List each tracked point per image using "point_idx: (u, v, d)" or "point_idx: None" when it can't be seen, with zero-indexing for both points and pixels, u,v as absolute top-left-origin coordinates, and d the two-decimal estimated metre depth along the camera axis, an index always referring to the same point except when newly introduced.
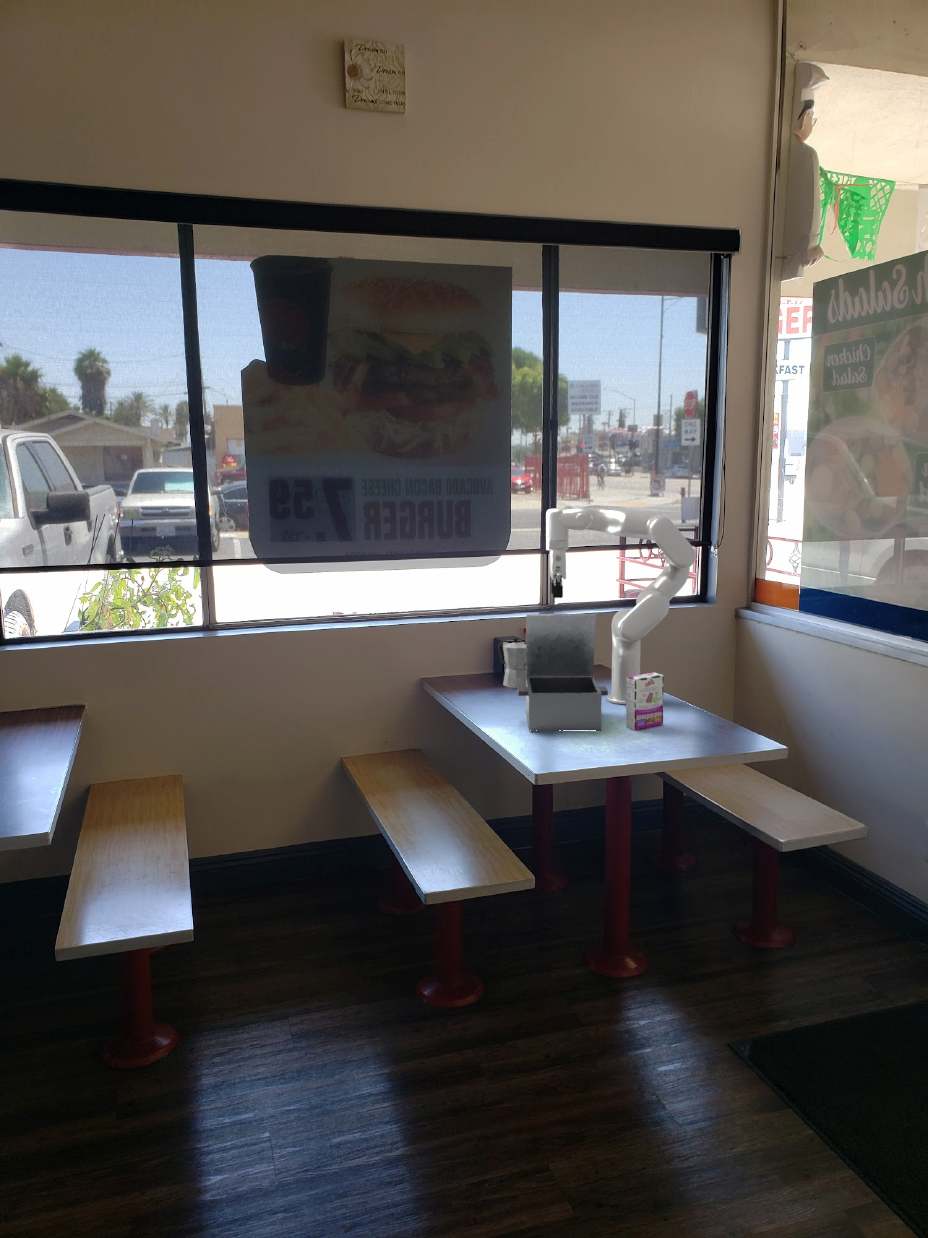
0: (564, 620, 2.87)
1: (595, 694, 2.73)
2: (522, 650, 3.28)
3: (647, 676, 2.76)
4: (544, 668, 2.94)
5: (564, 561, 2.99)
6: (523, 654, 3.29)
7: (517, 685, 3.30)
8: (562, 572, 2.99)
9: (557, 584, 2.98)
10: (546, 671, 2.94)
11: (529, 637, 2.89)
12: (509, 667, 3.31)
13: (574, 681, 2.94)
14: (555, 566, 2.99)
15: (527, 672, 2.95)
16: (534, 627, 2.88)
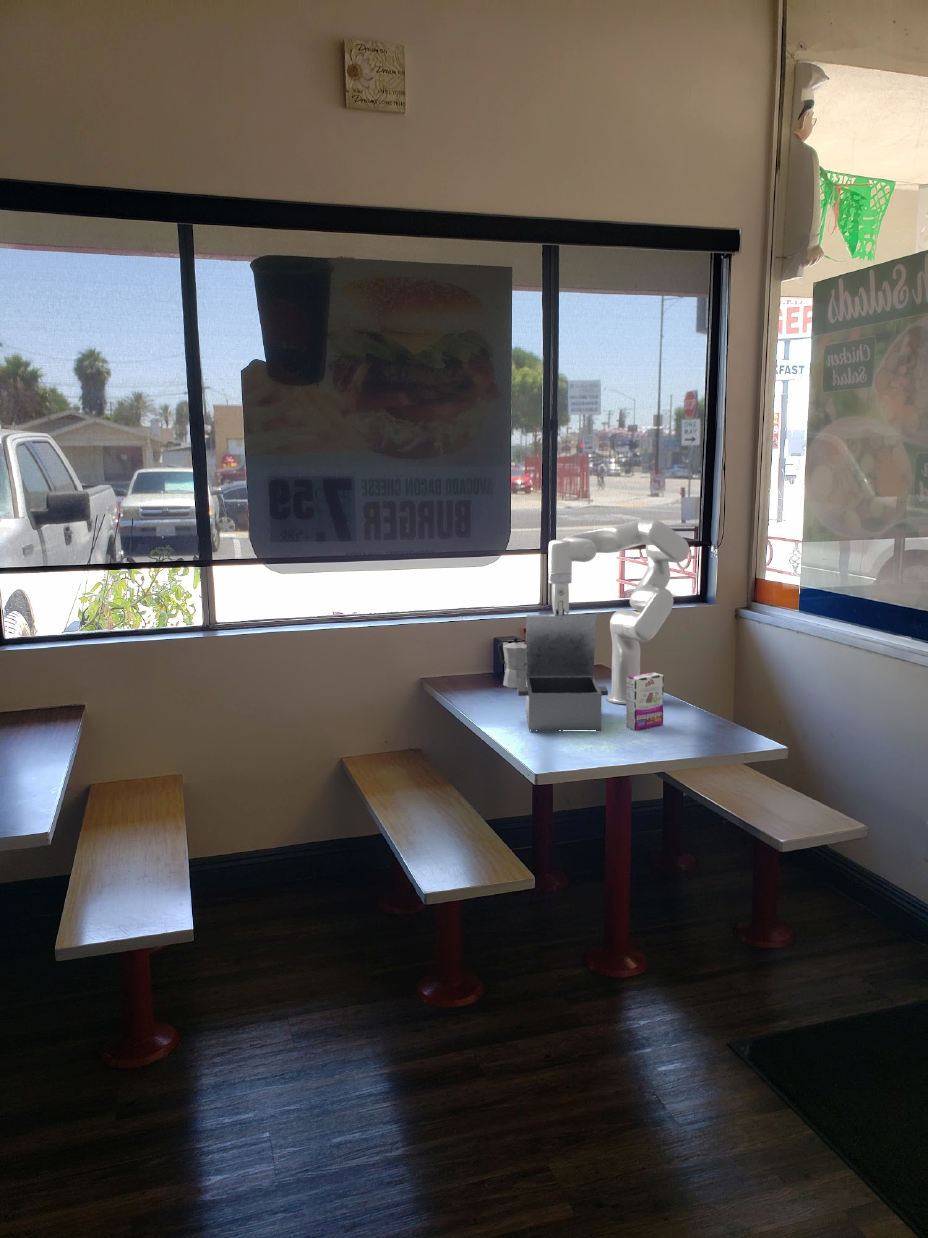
0: (564, 621, 2.86)
1: (595, 694, 2.73)
2: (522, 650, 3.28)
3: (647, 676, 2.76)
4: (544, 668, 2.94)
5: (567, 595, 2.87)
6: (523, 654, 3.29)
7: (517, 685, 3.30)
8: (565, 607, 2.87)
9: None
10: (546, 671, 2.94)
11: (529, 637, 2.89)
12: (509, 667, 3.31)
13: (574, 681, 2.94)
14: (558, 600, 2.87)
15: (527, 672, 2.95)
16: (535, 627, 2.87)
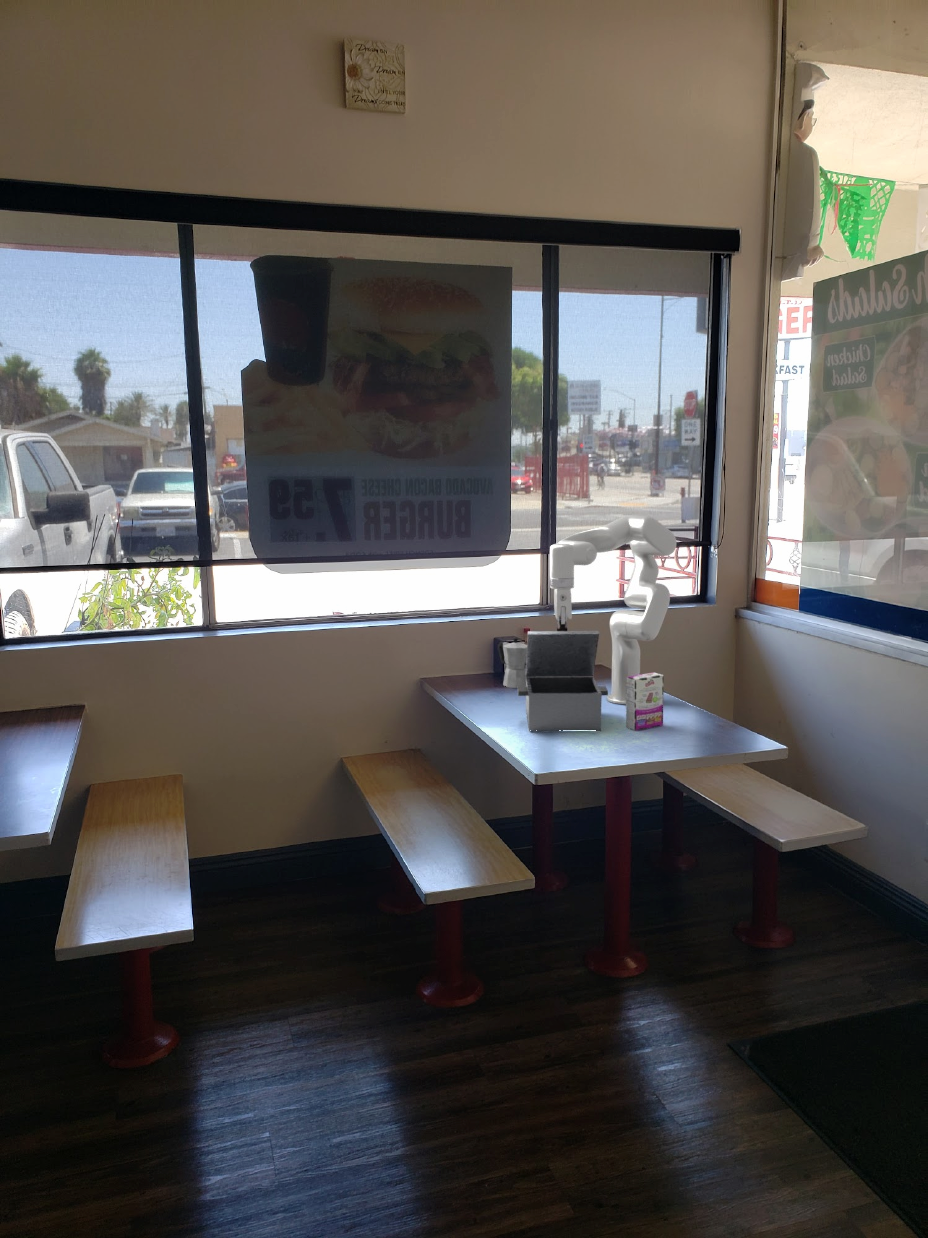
0: (566, 637, 2.80)
1: (595, 694, 2.73)
2: (522, 650, 3.28)
3: (647, 676, 2.76)
4: (544, 671, 2.93)
5: (570, 601, 2.79)
6: (523, 654, 3.29)
7: (517, 685, 3.30)
8: (567, 612, 2.79)
9: (561, 627, 2.83)
10: (546, 673, 2.94)
11: (530, 649, 2.84)
12: (509, 667, 3.31)
13: (574, 681, 2.94)
14: (560, 606, 2.79)
15: (527, 673, 2.94)
16: (536, 642, 2.82)
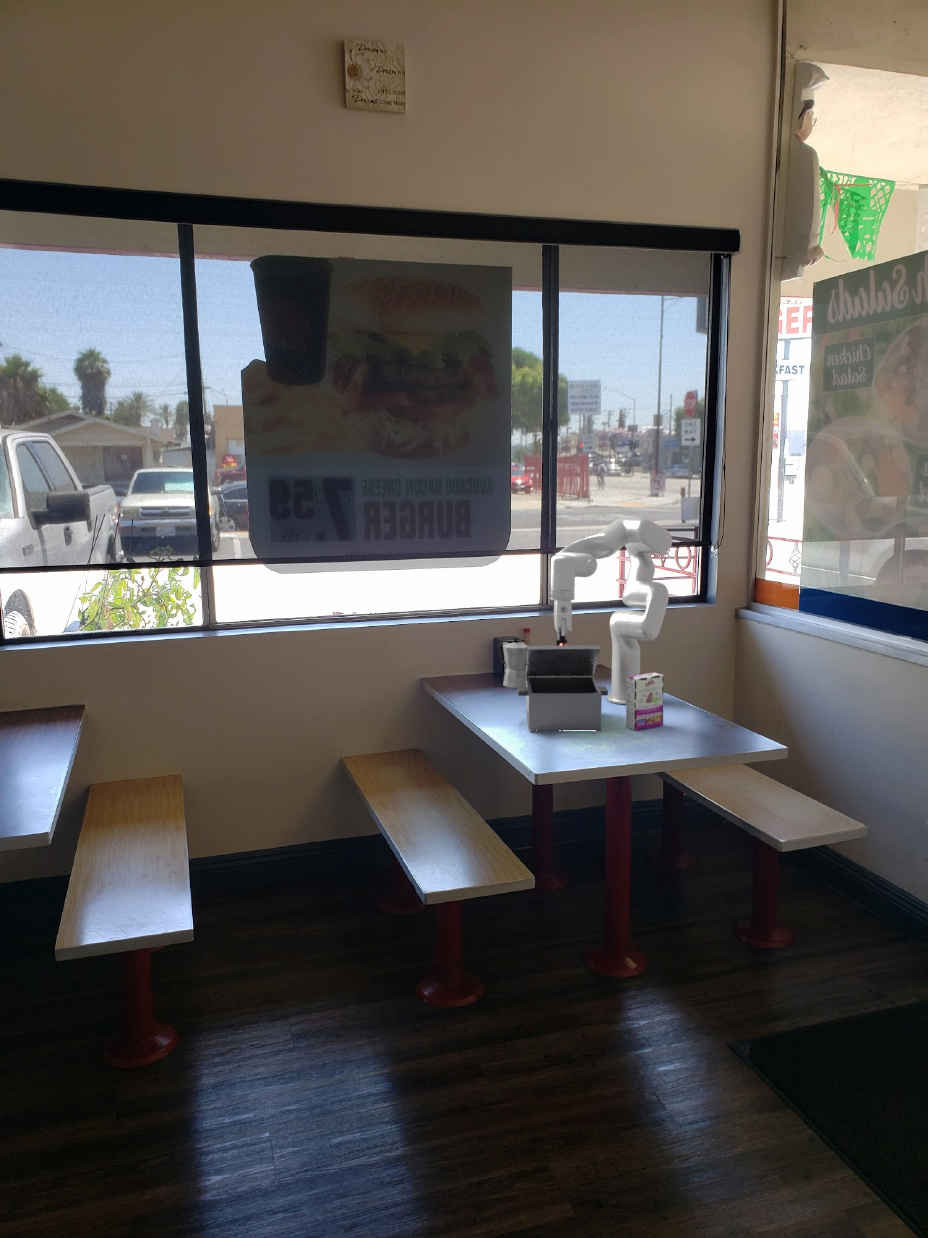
0: (567, 651, 2.77)
1: (595, 694, 2.73)
2: (522, 650, 3.28)
3: (647, 676, 2.76)
4: (544, 673, 2.93)
5: (570, 612, 2.77)
6: (523, 654, 3.29)
7: (517, 685, 3.30)
8: (568, 624, 2.77)
9: (561, 639, 2.81)
10: (546, 674, 2.94)
11: (530, 659, 2.83)
12: (509, 667, 3.31)
13: (574, 681, 2.94)
14: (560, 618, 2.77)
15: (527, 674, 2.94)
16: (536, 654, 2.79)
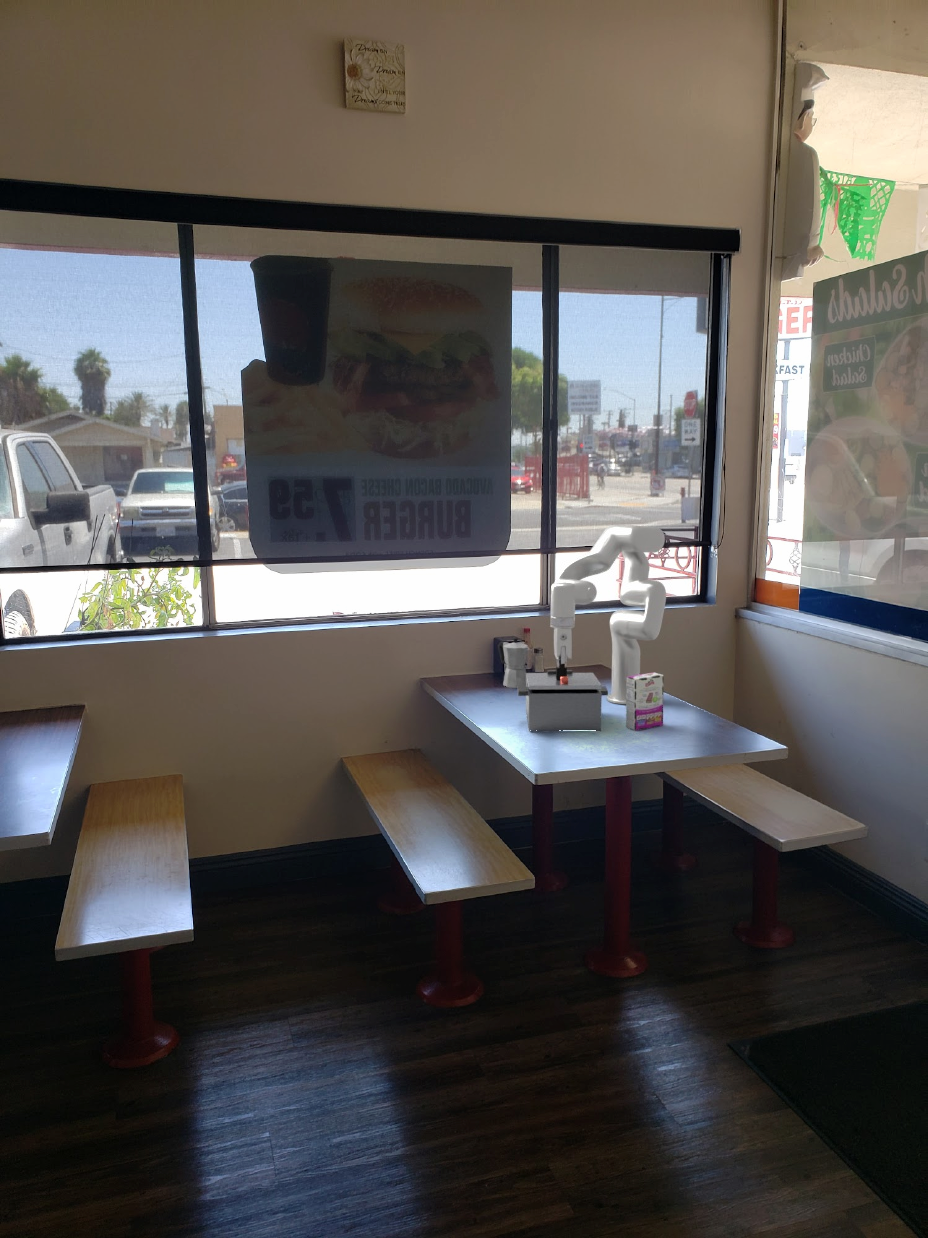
0: None
1: (595, 694, 2.73)
2: (522, 650, 3.28)
3: (647, 676, 2.76)
4: None
5: (570, 640, 2.76)
6: (523, 654, 3.29)
7: (517, 685, 3.30)
8: (568, 652, 2.76)
9: (561, 666, 2.80)
10: None
11: None
12: (509, 667, 3.31)
13: None
14: (560, 645, 2.76)
15: None
16: None
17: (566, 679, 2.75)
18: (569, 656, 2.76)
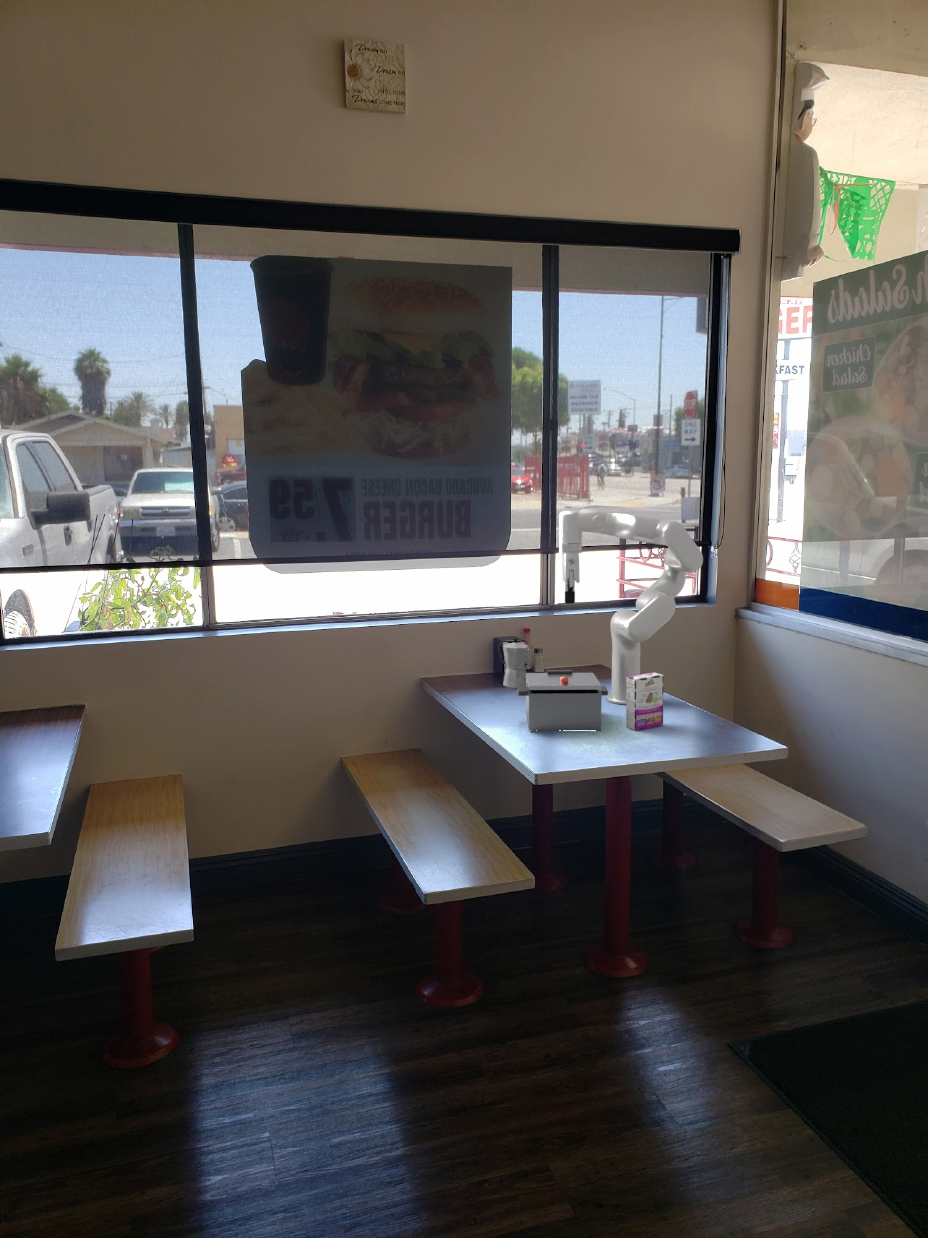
0: None
1: (595, 694, 2.73)
2: (522, 650, 3.28)
3: (647, 676, 2.76)
4: None
5: (578, 564, 2.93)
6: (523, 654, 3.29)
7: (517, 685, 3.30)
8: (575, 576, 2.93)
9: (569, 590, 2.97)
10: None
11: None
12: (509, 667, 3.31)
13: None
14: (568, 569, 2.93)
15: None
16: None
17: (566, 679, 2.75)
18: (577, 579, 2.94)
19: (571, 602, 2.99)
